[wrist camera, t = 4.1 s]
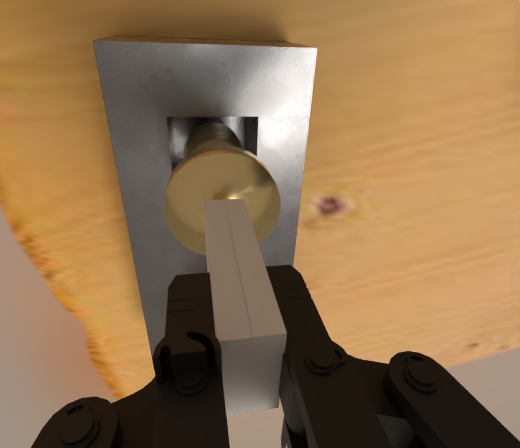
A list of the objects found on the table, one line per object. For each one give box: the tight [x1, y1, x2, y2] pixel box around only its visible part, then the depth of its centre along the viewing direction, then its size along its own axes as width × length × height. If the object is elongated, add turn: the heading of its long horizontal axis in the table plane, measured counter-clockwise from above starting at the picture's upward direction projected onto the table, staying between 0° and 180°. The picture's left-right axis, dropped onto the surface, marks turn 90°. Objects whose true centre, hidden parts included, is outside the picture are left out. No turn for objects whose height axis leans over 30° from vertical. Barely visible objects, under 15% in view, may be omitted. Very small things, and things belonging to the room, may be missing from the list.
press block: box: [93, 36, 317, 366], centre depth 25 cm, size 24×11×6 cm, turn 178°
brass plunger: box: [164, 123, 281, 256], centre depth 18 cm, size 5×5×8 cm
